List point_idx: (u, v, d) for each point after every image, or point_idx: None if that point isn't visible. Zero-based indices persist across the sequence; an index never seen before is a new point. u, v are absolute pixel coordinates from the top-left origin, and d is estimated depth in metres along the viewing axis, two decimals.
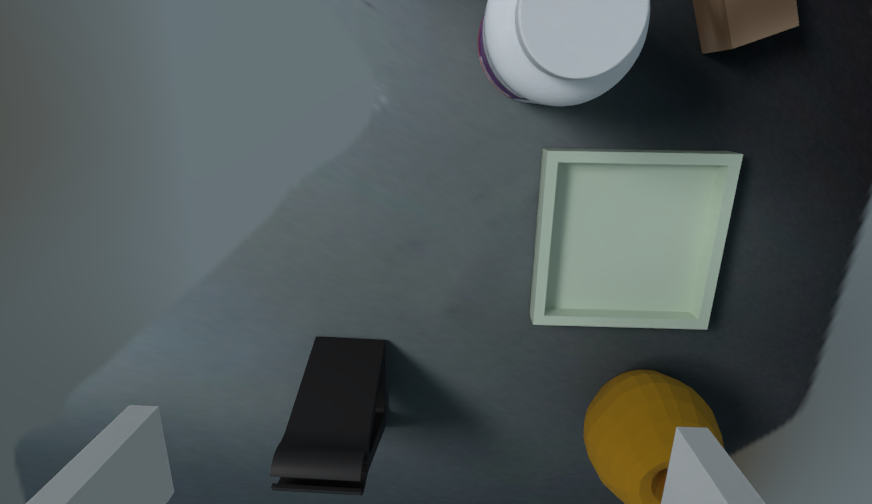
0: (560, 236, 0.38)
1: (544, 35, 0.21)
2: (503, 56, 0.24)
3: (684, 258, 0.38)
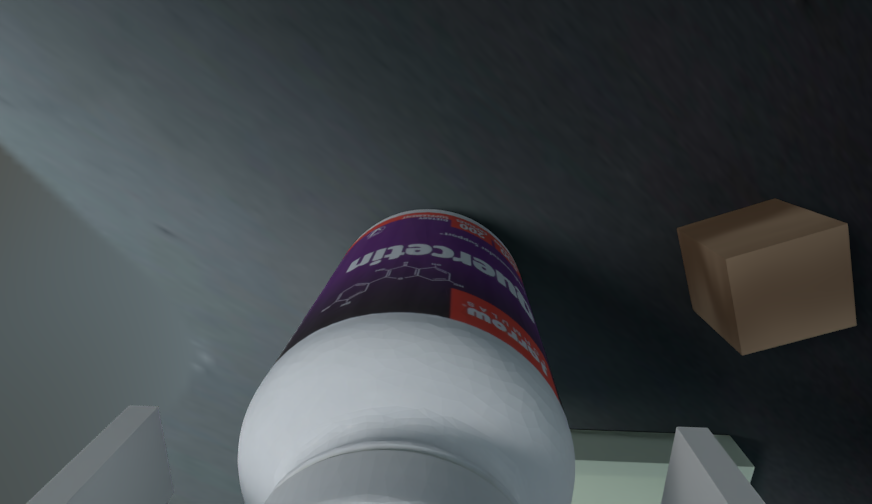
0: None
1: None
2: None
3: None
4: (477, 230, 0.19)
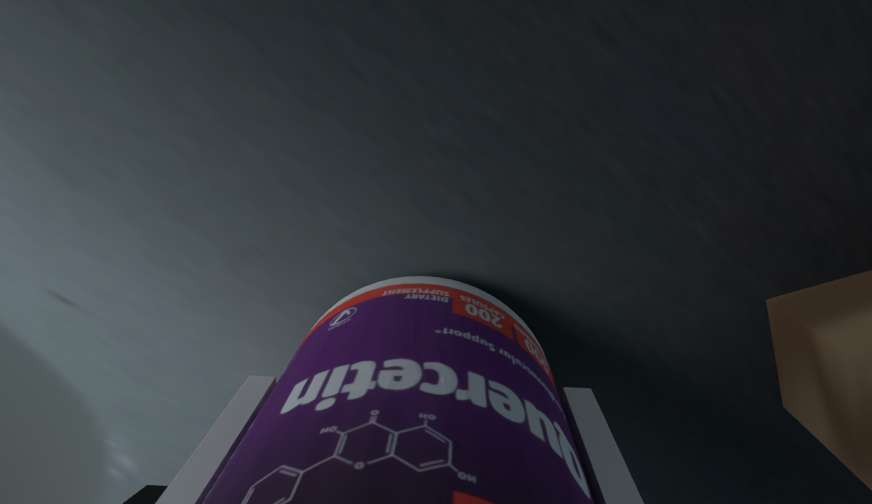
0: None
1: None
2: None
3: None
4: (490, 312, 0.13)
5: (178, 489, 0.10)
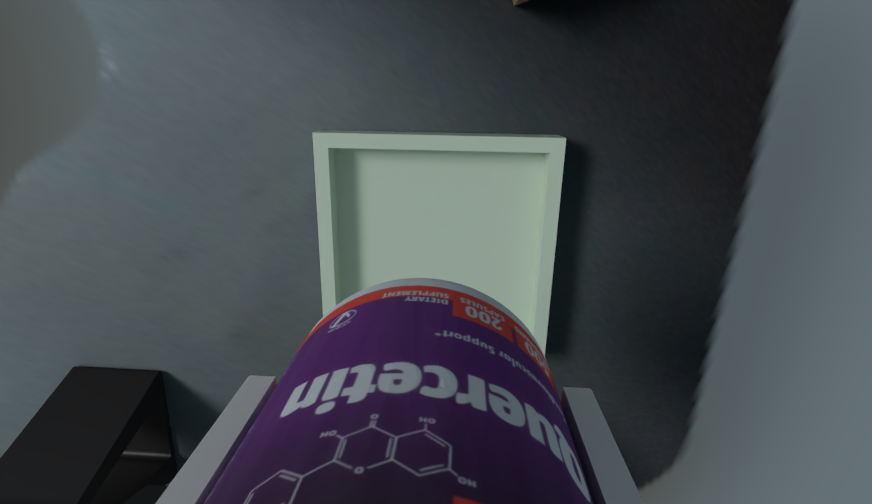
0: (355, 244, 0.30)
1: None
2: None
3: (514, 272, 0.30)
4: (491, 314, 0.13)
5: (178, 489, 0.10)
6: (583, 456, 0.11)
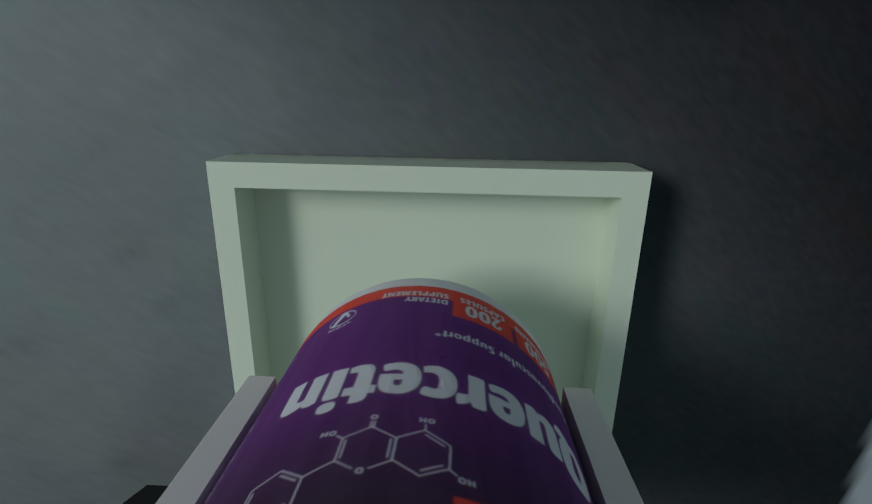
0: (295, 335, 0.18)
1: None
2: None
3: None
4: (490, 315, 0.13)
5: (178, 489, 0.10)
6: (583, 456, 0.11)
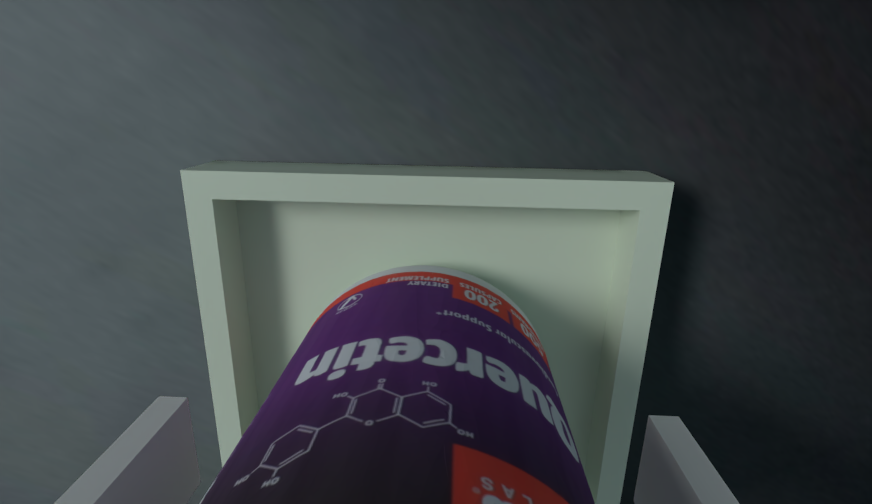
0: (282, 357, 0.17)
1: None
2: None
3: None
4: (488, 298, 0.14)
5: None
6: (689, 498, 0.10)
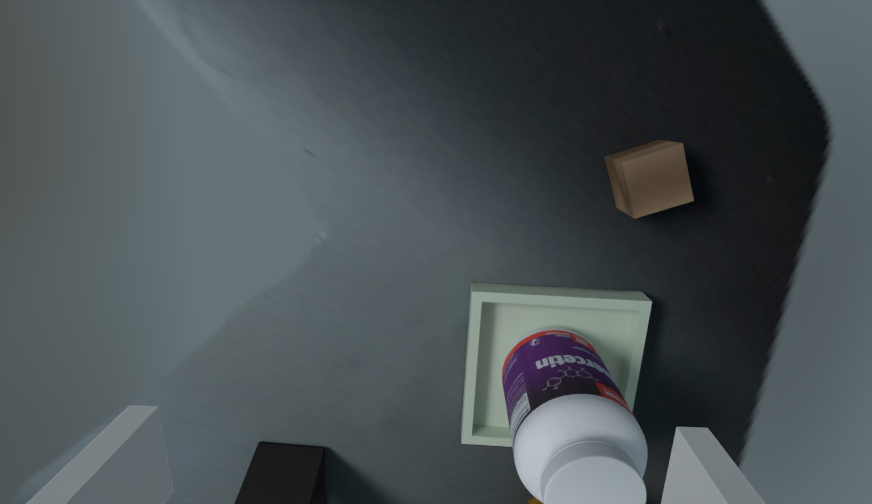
0: (488, 362, 0.40)
1: None
2: (529, 485, 0.30)
3: None
4: (583, 341, 0.37)
5: None
6: None
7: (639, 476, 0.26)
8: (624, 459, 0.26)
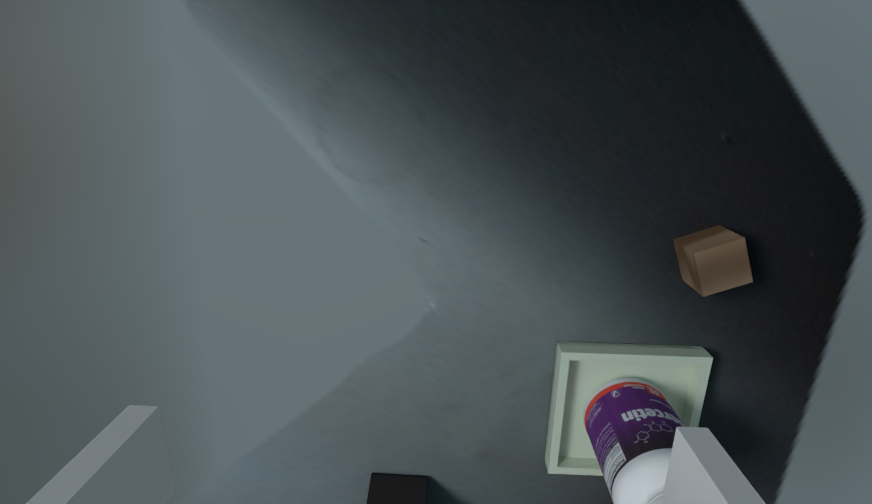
0: (570, 405, 0.48)
1: None
2: None
3: None
4: (655, 391, 0.44)
5: None
6: None
7: None
8: None
